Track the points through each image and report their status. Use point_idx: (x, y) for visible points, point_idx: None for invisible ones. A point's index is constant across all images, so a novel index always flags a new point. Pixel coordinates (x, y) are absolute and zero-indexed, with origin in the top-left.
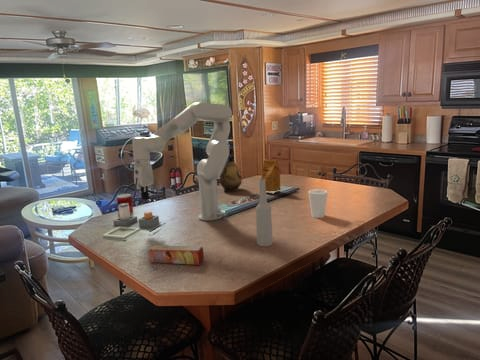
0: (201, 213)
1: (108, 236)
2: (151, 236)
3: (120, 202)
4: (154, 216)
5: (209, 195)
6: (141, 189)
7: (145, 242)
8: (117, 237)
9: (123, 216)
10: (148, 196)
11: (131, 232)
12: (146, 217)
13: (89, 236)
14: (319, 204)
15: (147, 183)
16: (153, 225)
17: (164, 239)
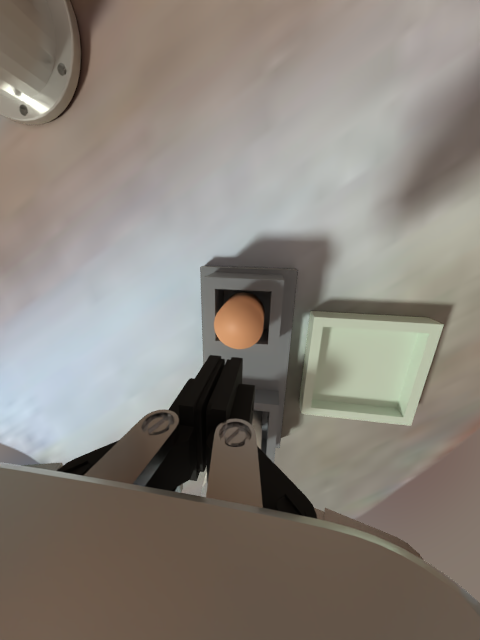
0: (27, 68)
1: (415, 399)
2: (354, 228)
3: None
4: (215, 296)
5: None
6: (305, 503)
7: (439, 210)
8: (428, 357)
9: (259, 440)
10: (207, 365)
11: (377, 323)
12: (263, 318)
13: (368, 470)
14: None
15: (169, 576)
16: (262, 274)
17: (395, 123)
